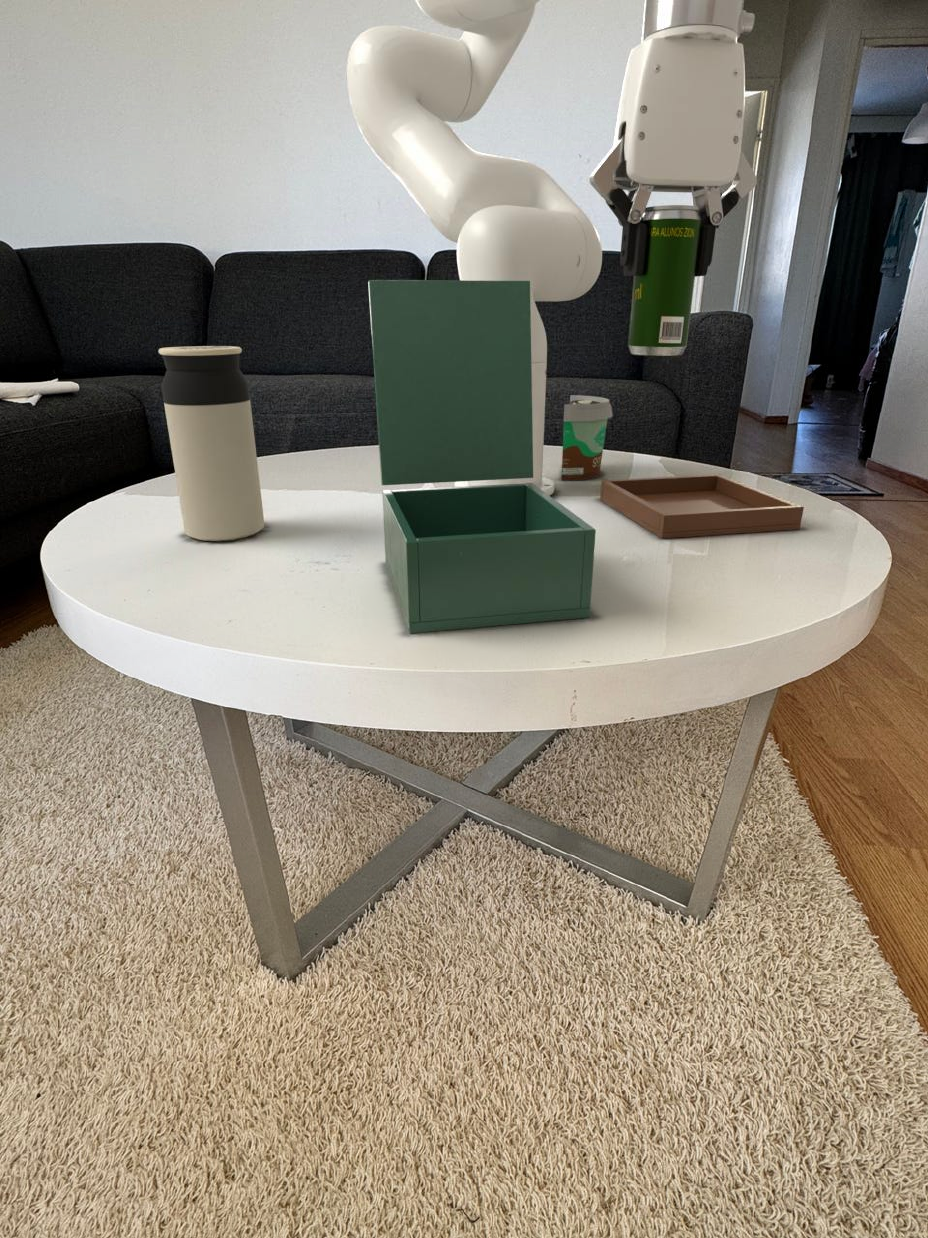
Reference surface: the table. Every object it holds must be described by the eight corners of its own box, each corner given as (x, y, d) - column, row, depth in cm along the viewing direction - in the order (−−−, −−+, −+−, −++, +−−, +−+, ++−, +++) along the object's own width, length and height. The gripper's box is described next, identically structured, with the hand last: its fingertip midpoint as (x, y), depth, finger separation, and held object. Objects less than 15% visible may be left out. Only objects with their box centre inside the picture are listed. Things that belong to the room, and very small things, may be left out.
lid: (530, 280, 61) (514, 293, 66) (368, 279, 58) (364, 292, 63) (533, 477, 65) (518, 476, 69) (382, 485, 62) (377, 483, 67)
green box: (589, 617, 54) (596, 529, 51) (409, 633, 51) (406, 541, 49) (529, 554, 68) (532, 482, 65) (385, 564, 65) (382, 490, 63)
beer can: (697, 354, 67) (716, 206, 62) (650, 356, 65) (665, 203, 60) (661, 351, 71) (676, 212, 66) (615, 352, 69) (627, 210, 64)
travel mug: (280, 526, 77) (261, 346, 70) (229, 546, 70) (202, 350, 63) (222, 518, 80) (198, 345, 73) (168, 536, 73) (136, 348, 66)
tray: (599, 499, 87) (601, 480, 86) (717, 493, 90) (719, 474, 89) (661, 538, 72) (664, 515, 71) (800, 529, 75) (804, 506, 74)
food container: (607, 484, 95) (613, 405, 91) (560, 482, 96) (564, 404, 92) (608, 466, 106) (614, 395, 102) (566, 464, 107) (570, 394, 103)
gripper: (763, 47, 63) (731, 277, 70) (573, 36, 60) (561, 276, 67) (814, 17, 56) (773, 275, 63) (604, 2, 53) (586, 273, 61)
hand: (664, 273), depth 65 cm, fingers closed on beer can, 5 cm apart
